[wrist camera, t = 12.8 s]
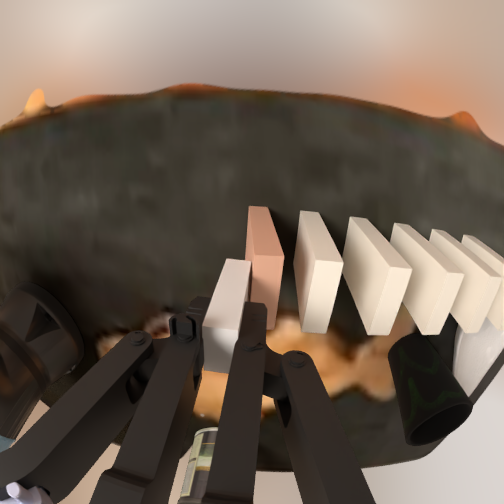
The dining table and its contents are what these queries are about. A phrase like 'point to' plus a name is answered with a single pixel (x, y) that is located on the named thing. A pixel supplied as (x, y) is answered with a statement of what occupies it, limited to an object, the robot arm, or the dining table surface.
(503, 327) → the cream flat rectangular block
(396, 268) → the tile
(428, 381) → the cup
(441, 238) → the tile
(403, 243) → the tile
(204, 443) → the coffee can
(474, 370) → the spoon rest
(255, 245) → the tile
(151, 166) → the dining table surface
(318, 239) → the tile
